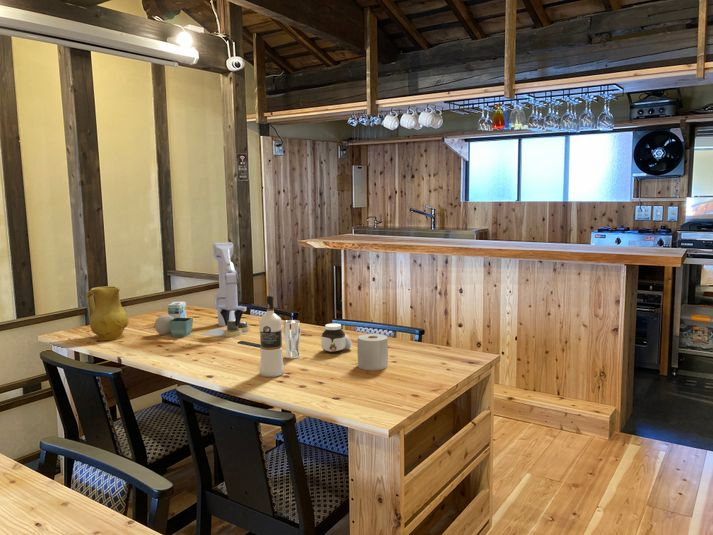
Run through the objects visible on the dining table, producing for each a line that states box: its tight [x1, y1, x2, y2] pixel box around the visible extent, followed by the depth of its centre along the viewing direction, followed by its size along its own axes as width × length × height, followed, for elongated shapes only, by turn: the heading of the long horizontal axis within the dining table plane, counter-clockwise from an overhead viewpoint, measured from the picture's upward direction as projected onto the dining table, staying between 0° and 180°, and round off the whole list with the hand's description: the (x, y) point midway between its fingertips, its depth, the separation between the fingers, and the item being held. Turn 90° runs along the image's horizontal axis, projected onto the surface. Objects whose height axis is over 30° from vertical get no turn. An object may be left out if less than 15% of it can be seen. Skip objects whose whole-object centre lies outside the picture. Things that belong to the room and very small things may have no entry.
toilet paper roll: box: [357, 333, 389, 371], centre depth 226 cm, size 12×12×12 cm
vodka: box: [258, 295, 285, 378], centre depth 215 cm, size 9×9×30 cm
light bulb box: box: [167, 301, 188, 318], centre depth 309 cm, size 11×7×11 cm, turn 179°
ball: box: [154, 314, 174, 336], centre depth 281 cm, size 10×10×10 cm
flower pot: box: [169, 317, 194, 338], centre depth 275 cm, size 9×9×9 cm
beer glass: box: [283, 319, 301, 360], centre depth 240 cm, size 7×7×15 cm
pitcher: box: [86, 285, 130, 342], centre depth 277 cm, size 17×19×25 cm
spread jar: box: [320, 323, 353, 355], centre depth 249 cm, size 12×11×12 cm
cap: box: [226, 319, 238, 330], centre depth 276 cm, size 5×5×4 cm
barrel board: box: [200, 321, 251, 338], centre depth 281 cm, size 16×20×5 cm
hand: (232, 325), depth 276 cm, fingers closed on cap, 5 cm apart
